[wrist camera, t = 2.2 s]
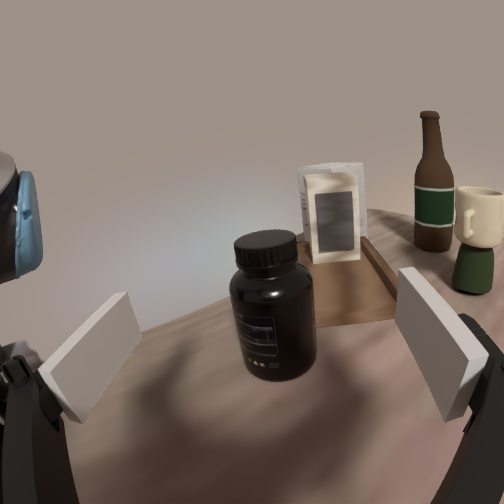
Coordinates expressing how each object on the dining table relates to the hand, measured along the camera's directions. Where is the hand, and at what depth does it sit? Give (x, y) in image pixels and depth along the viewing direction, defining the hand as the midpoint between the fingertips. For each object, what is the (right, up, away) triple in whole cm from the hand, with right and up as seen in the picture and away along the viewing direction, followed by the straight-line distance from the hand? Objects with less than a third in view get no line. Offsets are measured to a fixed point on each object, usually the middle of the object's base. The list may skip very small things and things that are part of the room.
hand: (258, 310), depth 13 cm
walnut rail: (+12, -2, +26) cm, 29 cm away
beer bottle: (+33, +4, +34) cm, 47 cm away
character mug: (+29, -2, +18) cm, 34 cm away
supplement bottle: (+2, -8, +13) cm, 16 cm away
